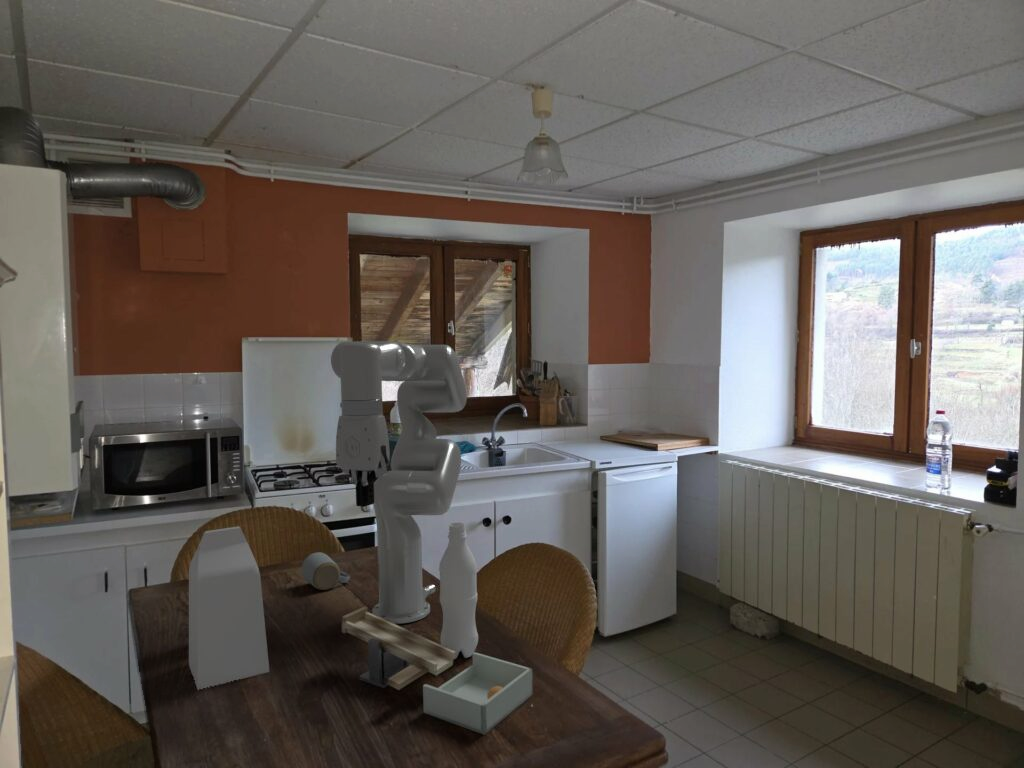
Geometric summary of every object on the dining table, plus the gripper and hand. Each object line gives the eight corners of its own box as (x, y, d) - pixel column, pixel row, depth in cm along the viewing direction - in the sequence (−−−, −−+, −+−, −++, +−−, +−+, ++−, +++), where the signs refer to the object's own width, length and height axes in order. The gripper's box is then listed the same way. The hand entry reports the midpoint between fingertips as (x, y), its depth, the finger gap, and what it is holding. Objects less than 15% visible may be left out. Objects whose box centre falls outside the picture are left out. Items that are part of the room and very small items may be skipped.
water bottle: (461, 641, 138) (459, 517, 136) (486, 653, 133) (483, 524, 131) (433, 653, 133) (430, 524, 131) (457, 665, 128) (454, 531, 126)
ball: (493, 696, 115) (496, 679, 114) (509, 706, 113) (512, 688, 113) (481, 705, 112) (485, 687, 112) (497, 715, 110) (501, 697, 110)
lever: (312, 645, 122) (313, 629, 122) (364, 621, 132) (365, 606, 132) (407, 694, 110) (408, 676, 110) (455, 663, 121) (456, 647, 120)
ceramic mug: (313, 594, 165) (312, 563, 165) (301, 585, 172) (300, 554, 171) (355, 585, 171) (354, 555, 171) (342, 576, 178) (341, 547, 178)
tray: (475, 676, 124) (474, 652, 123) (532, 694, 117) (532, 668, 117) (423, 712, 112) (423, 685, 112) (484, 734, 105) (483, 706, 105)
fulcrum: (359, 679, 123) (358, 639, 123) (394, 659, 131) (393, 622, 130) (384, 688, 120) (383, 647, 120) (418, 667, 127) (417, 629, 127)
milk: (197, 690, 120) (191, 542, 119) (188, 664, 130) (182, 527, 128) (269, 671, 127) (264, 531, 125) (255, 648, 136) (250, 518, 135)
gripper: (319, 408, 131) (322, 504, 133) (377, 412, 123) (380, 514, 125) (348, 405, 138) (351, 496, 139) (405, 408, 130) (408, 505, 131)
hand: (365, 504), depth 132 cm, fingers closed
